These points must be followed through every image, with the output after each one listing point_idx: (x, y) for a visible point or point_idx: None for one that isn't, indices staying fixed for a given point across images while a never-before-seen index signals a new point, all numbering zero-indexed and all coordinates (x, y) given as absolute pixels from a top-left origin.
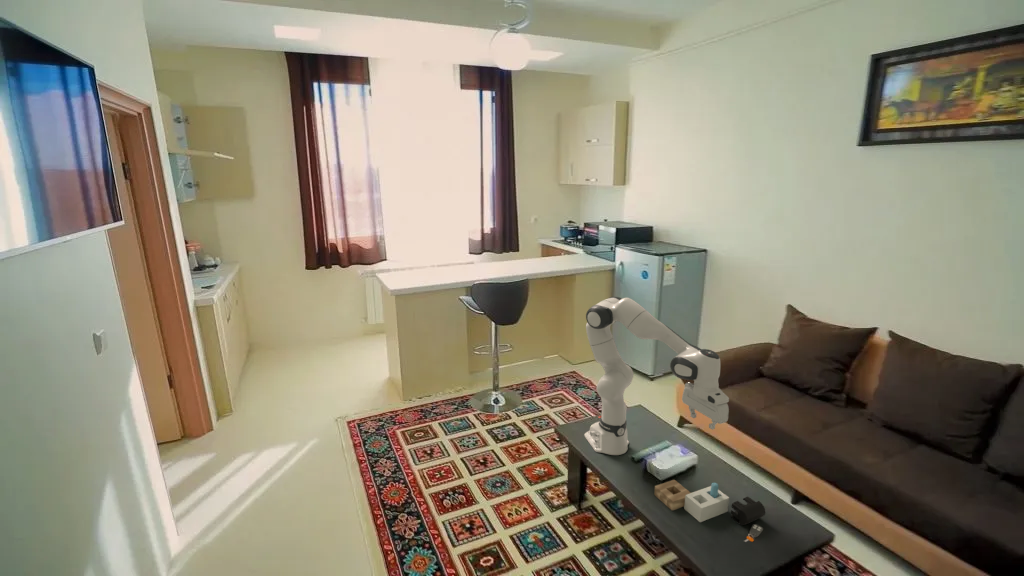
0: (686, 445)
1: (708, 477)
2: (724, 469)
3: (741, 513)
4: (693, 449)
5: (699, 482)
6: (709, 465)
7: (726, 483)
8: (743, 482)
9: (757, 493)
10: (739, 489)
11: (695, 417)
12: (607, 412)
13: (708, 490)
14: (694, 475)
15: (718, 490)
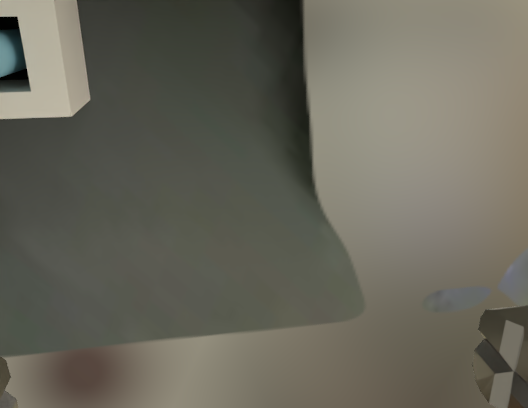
0: (479, 293)
1: (239, 215)
2: (256, 325)
3: None
4: (439, 301)
5: (225, 142)
6: (310, 284)
7: (166, 261)
8: (144, 336)
9: (55, 337)
10: (106, 285)
11: (477, 364)
12: None
13: (28, 47)
14: (282, 160)
15: (11, 111)
